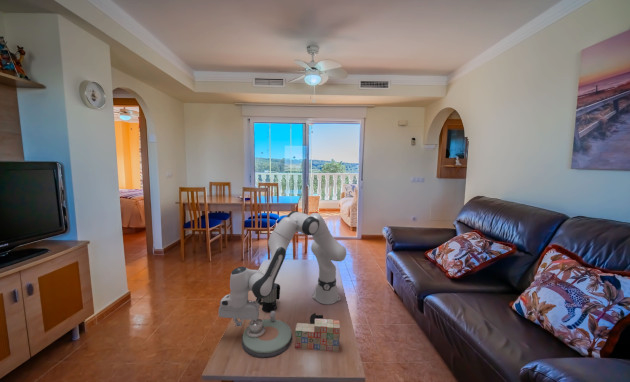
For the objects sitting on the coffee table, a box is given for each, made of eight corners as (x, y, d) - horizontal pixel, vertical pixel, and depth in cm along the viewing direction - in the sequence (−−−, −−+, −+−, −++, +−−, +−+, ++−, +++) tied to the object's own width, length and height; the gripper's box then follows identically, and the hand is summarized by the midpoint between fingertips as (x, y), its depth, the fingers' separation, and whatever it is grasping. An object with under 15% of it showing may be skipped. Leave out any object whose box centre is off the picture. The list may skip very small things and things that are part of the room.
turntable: (252, 320, 141) (252, 308, 141) (294, 323, 139) (295, 312, 139) (234, 350, 118) (235, 337, 117) (286, 355, 116) (286, 342, 115)
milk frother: (273, 314, 151) (274, 290, 150) (249, 310, 154) (249, 286, 153) (281, 301, 165) (282, 279, 163) (258, 298, 168) (259, 276, 167)
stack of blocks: (294, 348, 123) (295, 324, 122) (296, 339, 129) (297, 316, 128) (338, 352, 122) (340, 327, 121) (338, 343, 128) (339, 319, 127)
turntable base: (251, 322, 142) (251, 319, 142) (295, 326, 140) (295, 323, 140) (233, 355, 117) (233, 352, 117) (286, 360, 115) (287, 357, 115)
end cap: (309, 324, 143) (310, 312, 142) (322, 324, 143) (322, 312, 142) (310, 336, 133) (310, 323, 132) (323, 336, 133) (324, 323, 132)
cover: (250, 326, 134) (250, 315, 133) (267, 327, 133) (267, 316, 132) (244, 337, 125) (244, 325, 124) (262, 338, 124) (262, 327, 124)
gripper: (261, 298, 130) (260, 323, 132) (222, 295, 132) (222, 320, 133) (257, 304, 124) (257, 331, 125) (216, 301, 126) (217, 327, 127)
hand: (239, 325), depth 129 cm, fingers closed
